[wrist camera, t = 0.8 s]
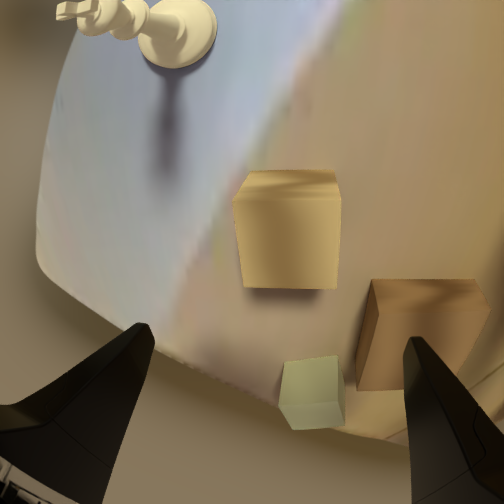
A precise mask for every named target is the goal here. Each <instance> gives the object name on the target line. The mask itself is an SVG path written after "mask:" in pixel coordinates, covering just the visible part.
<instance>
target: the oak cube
mask: <svg viewBox="0 0 504 504" xmlns="http://www.w3.org/2000/svg"><path fill="white" fill-rule="evenodd" d="M232 205H233V212H234V220H235V227H236V235H237V242H238V249H239V257H240V264H241V271H242V278H243V285H244V287H256V288H294V289H336V288H337V276H338V262H339V246H340V226H341V196H340V192H339V188H338V185H337V181H336V177H335V173H334V170H268V171H251V172H250V173H249V175H248V176H247V178H246V180H245V181H244V183H243V184H242V186H241V188H240V189H239V191H238V192H237V194H236V196H235V197H234V199H233V200H232Z"/></svg>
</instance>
